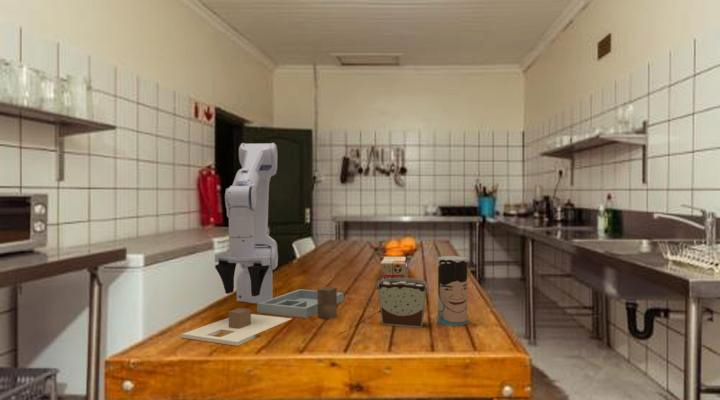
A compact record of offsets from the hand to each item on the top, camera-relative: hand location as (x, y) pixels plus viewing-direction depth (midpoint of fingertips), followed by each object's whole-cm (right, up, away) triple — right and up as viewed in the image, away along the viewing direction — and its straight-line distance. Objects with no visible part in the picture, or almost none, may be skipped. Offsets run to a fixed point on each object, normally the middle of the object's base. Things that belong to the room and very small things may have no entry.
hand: (242, 294), depth 123 cm
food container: (+38, -7, -1) cm, 39 cm away
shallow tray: (+13, -6, +13) cm, 19 cm away
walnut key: (+20, -7, +2) cm, 21 cm away
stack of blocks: (+38, -6, +23) cm, 44 cm away
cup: (+49, -7, -1) cm, 50 cm away
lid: (+1, -7, -6) cm, 9 cm away
